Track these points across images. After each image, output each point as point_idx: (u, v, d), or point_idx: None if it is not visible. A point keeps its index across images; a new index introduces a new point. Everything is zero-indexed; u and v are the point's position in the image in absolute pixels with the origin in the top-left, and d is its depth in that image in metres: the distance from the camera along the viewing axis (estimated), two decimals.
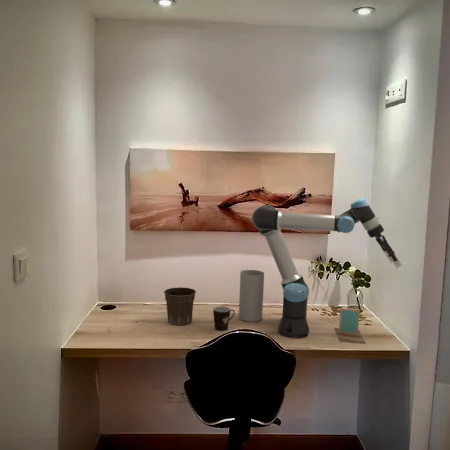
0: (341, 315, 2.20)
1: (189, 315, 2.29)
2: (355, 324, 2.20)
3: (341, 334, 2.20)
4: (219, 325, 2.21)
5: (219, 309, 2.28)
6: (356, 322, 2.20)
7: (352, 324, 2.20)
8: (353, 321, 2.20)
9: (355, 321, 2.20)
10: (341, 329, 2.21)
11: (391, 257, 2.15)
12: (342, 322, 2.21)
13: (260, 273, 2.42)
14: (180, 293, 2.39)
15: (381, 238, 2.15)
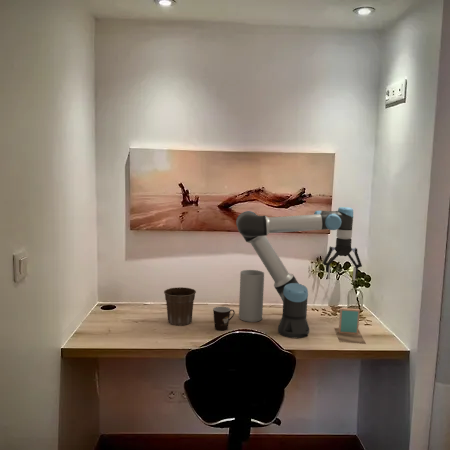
0: (341, 315, 2.20)
1: (189, 315, 2.29)
2: (355, 324, 2.20)
3: (341, 334, 2.20)
4: (219, 325, 2.21)
5: (219, 309, 2.28)
6: (356, 322, 2.20)
7: (352, 324, 2.20)
8: (353, 321, 2.20)
9: (355, 321, 2.20)
10: (341, 329, 2.21)
11: None
12: (342, 322, 2.21)
13: (260, 273, 2.42)
14: (180, 293, 2.39)
15: (356, 249, 2.30)
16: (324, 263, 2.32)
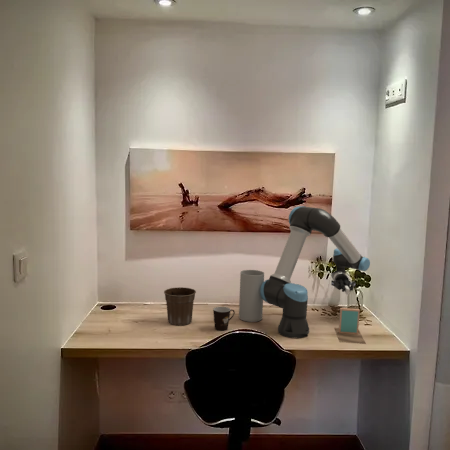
0: (341, 315, 2.20)
1: (189, 315, 2.29)
2: (355, 324, 2.20)
3: (341, 334, 2.20)
4: (219, 325, 2.21)
5: (219, 309, 2.28)
6: (356, 322, 2.20)
7: (352, 324, 2.20)
8: (353, 321, 2.20)
9: (355, 321, 2.20)
10: (341, 329, 2.21)
11: (347, 287, 2.33)
12: (342, 322, 2.21)
13: (260, 273, 2.42)
14: (180, 293, 2.39)
15: (354, 284, 2.42)
16: (339, 284, 2.36)
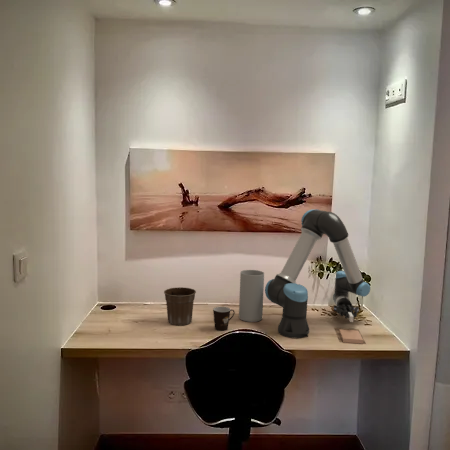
0: None
1: (189, 315, 2.29)
2: None
3: None
4: (219, 325, 2.21)
5: (219, 309, 2.28)
6: None
7: None
8: None
9: None
10: None
11: None
12: None
13: (260, 273, 2.42)
14: (180, 293, 2.39)
15: (358, 309, 2.34)
16: (342, 310, 2.27)
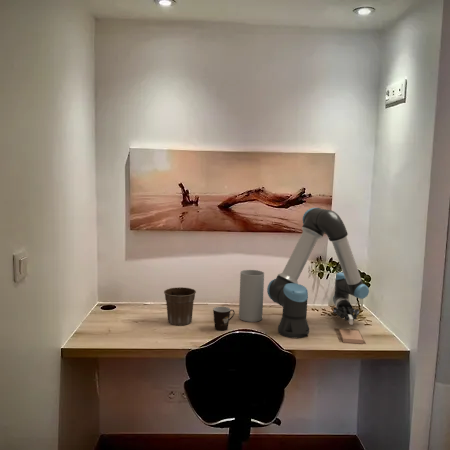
0: None
1: (189, 315, 2.29)
2: None
3: None
4: (219, 325, 2.21)
5: (219, 309, 2.28)
6: None
7: None
8: None
9: None
10: None
11: (351, 316, 2.20)
12: None
13: (260, 273, 2.42)
14: (180, 293, 2.39)
15: (358, 312, 2.30)
16: (342, 313, 2.23)
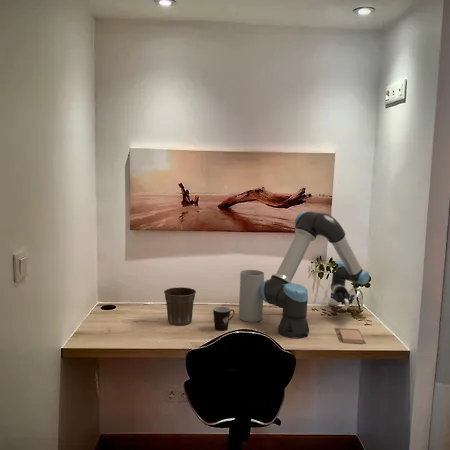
0: None
1: (189, 315, 2.29)
2: None
3: None
4: (219, 325, 2.21)
5: (219, 309, 2.28)
6: None
7: None
8: None
9: None
10: None
11: (347, 300, 2.34)
12: None
13: (260, 273, 2.42)
14: (180, 293, 2.39)
15: (354, 297, 2.44)
16: (338, 297, 2.37)
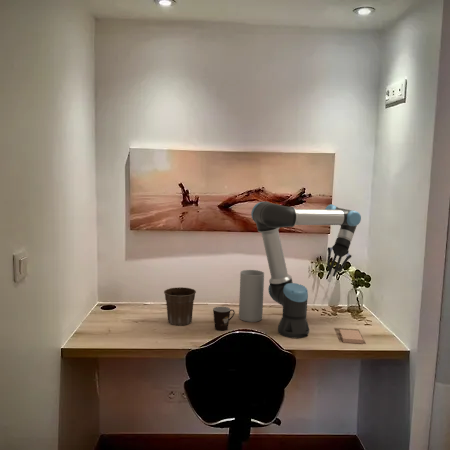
0: None
1: (189, 315, 2.29)
2: None
3: None
4: (219, 325, 2.21)
5: (219, 309, 2.28)
6: None
7: None
8: None
9: None
10: None
11: (334, 271, 2.33)
12: None
13: (260, 273, 2.42)
14: (180, 293, 2.39)
15: (350, 257, 2.35)
16: (328, 264, 2.34)
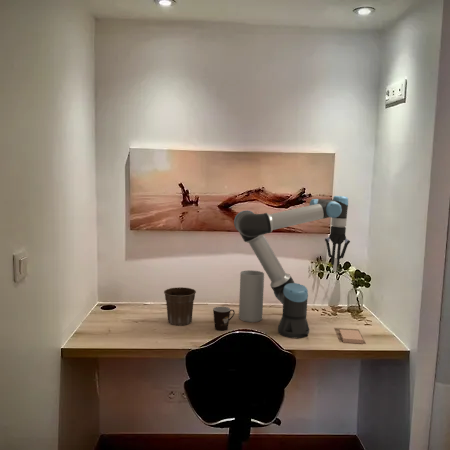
0: None
1: (189, 315, 2.29)
2: None
3: None
4: (219, 325, 2.21)
5: (219, 309, 2.28)
6: None
7: None
8: None
9: None
10: None
11: (337, 260, 2.35)
12: None
13: (260, 273, 2.43)
14: (180, 293, 2.39)
15: None
16: (329, 255, 2.34)
